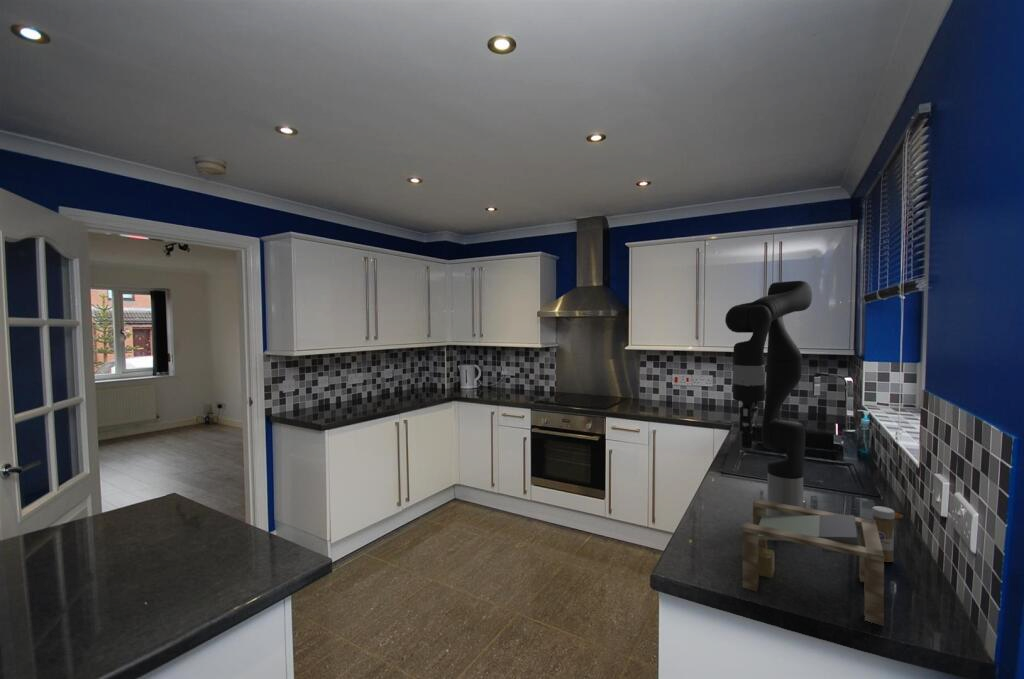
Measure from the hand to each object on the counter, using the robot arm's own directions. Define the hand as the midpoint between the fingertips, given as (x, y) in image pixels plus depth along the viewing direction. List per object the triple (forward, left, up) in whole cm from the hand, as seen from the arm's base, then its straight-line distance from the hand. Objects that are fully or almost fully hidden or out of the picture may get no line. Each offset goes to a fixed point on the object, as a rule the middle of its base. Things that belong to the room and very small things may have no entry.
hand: (749, 443), depth 121 cm
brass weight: (-1, +7, -29) cm, 29 cm away
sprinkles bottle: (-34, +7, -31) cm, 47 cm away
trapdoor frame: (-6, +13, -31) cm, 34 cm away
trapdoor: (-6, +12, -20) cm, 25 cm away
